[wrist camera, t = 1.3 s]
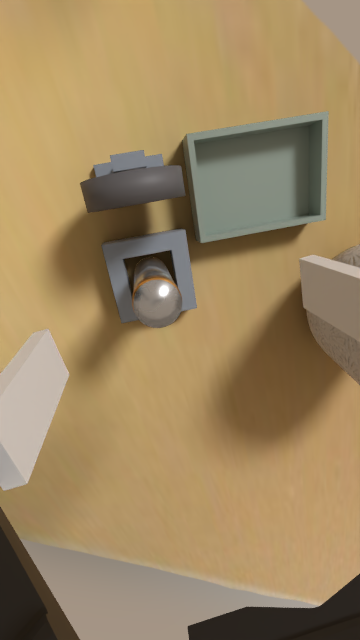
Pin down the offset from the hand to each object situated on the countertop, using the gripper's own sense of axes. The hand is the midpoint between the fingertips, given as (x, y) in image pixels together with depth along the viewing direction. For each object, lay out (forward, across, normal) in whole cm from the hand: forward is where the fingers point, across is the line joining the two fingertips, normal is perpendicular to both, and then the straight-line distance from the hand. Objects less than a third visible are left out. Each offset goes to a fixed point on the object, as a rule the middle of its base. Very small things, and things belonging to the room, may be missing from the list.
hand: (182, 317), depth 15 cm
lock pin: (+21, -1, -2) cm, 21 cm away
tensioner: (+21, -1, +2) cm, 21 cm away
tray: (+21, +12, +5) cm, 25 cm away
